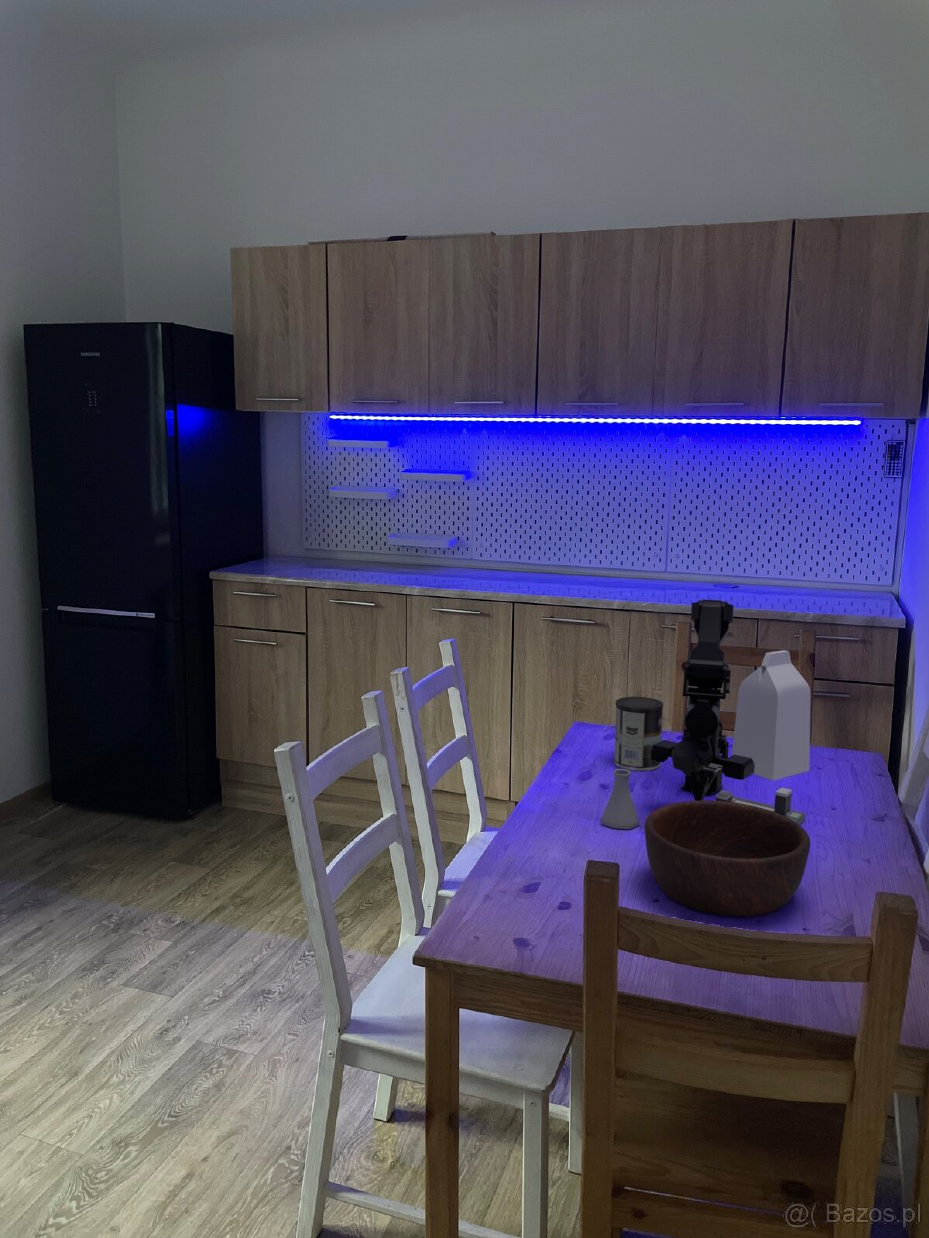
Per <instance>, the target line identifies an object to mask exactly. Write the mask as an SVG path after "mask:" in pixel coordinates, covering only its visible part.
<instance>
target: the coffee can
mask: <svg viewBox="0 0 929 1238" xmlns="http://www.w3.org/2000/svg"><path fill="white" fill-rule="evenodd" d="M615 706H616V707H615V729H614V731H615V732H614V758H613V759H614V760H613V763H614V765H615V766H617V767H619V769H625V770H629V771H635V772H649V771H654V770H656V769H657V770H658V769H660V767H661V762H658V761H653V760H650V749H651V747H652V746H653V745H655V744H657V743H659V742H661V741H662V729H663V727H662V726H663V711H664V710H663V708H664V702H663V701H661V700H660V699H656V698H652V697H647V696H627V697H621V698H618V699H616V700H615Z"/></svg>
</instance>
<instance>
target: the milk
mask: <svg viewBox="0 0 929 1238" xmlns="http://www.w3.org/2000/svg"><path fill="white" fill-rule="evenodd" d="M737 696H738V697H737V704H736V714H735V720H734V721H735V722H734V723H735V724H734V731H733V732H734V733H733V741H732V750H731V756H732V755H739V756H744V757H749V758H752V760H753V762H754V764H755V768H754V773H753V775H756V776H758V777H761V778H765V779H767V780H770V781H777V780H780V779H784V778H788V777H791V776H796V775H799V774H804V773H807V772H810V767H811V766H810V764H811V763H810V762H811V760H810V757H811V756H810V753H811V752H810V751H811V750H810V749H811V748H810V747H811V688H810V686H809V684H808V682H807V681H806V679H805V678H804V677H803V676H802V675H801V674H800V672H799V671H798V669H797V668H796V666H794V665H793V663H792V659H791V654H790V651H789V650H785V649H782V650H777V651H776V650H775V651H771V652H766V653H765V655H764V657H763V660H762V663H761V665H760V666H759V667H758V668H756V669H755V670H754V671H753V672H751V673H750V674H749V675H748V676H747V677H746V678H744V679H743V680H742V681H741V683H740V684H739V687H738V695H737Z"/></svg>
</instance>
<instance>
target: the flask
mask: <svg viewBox="0 0 929 1238" xmlns="http://www.w3.org/2000/svg"><path fill="white" fill-rule="evenodd" d="M613 775H614V783H613V787H612V791H611V794H610V795H609V798H608V801H607V803H606V806H605V808H604V810H603V813H602V815H601V818H600V819H601V825H603V826H606V827H609V828H613V829H619V830H620V829H621V830H632V829H634V828H636V827H638V826H640V822H639V821H640V820H639V817H638V814H637V810H636V808H635V804H634V802H633V798H632V795H631V791H630V784H629V782H630V781H629V779H630V778H629V777H630V776H631V770H627V769H623V768H617V769H615V770H613Z"/></svg>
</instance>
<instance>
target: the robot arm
mask: <svg viewBox="0 0 929 1238" xmlns="http://www.w3.org/2000/svg"><path fill="white" fill-rule="evenodd" d="M690 608H691V609H690V610H691V611H690V622H691V623H693V628H694V633H695V635H696V637H697V645H696V646H694V647H693V648H692V649H691V650H690V651H689V658H688V661H685V663H684V672H683V673H684V674H683V685H682V697H687V698H688V704H687V706H688V707H687V709H686V713H685V718H684V723H685V724H684V725H685V728H684V729H683V731H682V738H681V740H680V741H679V742H675V741H672V740H667V739H663V740H661V742H659V743H657V744H655V745H653V746H652V747H651V749H650V760H653V761H658V762H660V763H666V761H668V760H669V758H671V759H672V768H674V769H675V770H678V771H681V772H682V773H683V774H684V784H682V785H680V789H681V790H685V791H689V792H691V793H692V795H693V799H694V801H700V800H705V797H706V796H712V795H714V794H715V793H716V792H717V793H718V792H719V791H721V789H722V788H723V775H724V776H725V778H729V779H734V780H737V781H738V780H739V781H741V780H745V779H746V778H748V777H750V776H751V775H752V774H753V773H754V768H755V764H754V762H753V760H752V758H749V757H744V756H739V755H732V754H731V756H729V747H730V742H729V741H728V740H727V737H726V734H723V724H722V722H721V720H720V712H721V711H720V710H721V700H726V698H727V694H730V691H731V690H730V686H731V673H732V672H731V671H732V670H731V669H730V668H729V667H730V665H728V663H725V652H724V651H723V650H722V649H721V645H722V643H723V642H724V640H725V639H726V637H727V636H728V635H729V630H730V625H733V621H734V608H735V607H734V604H731V603H728V601H723V600H721V599H717V600H716V599H706V598H705V599H701V600H700V599H699V600H698V601H696V602H692V603H691V607H690ZM687 686H688V687H687ZM753 775H754V774H753Z"/></svg>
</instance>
